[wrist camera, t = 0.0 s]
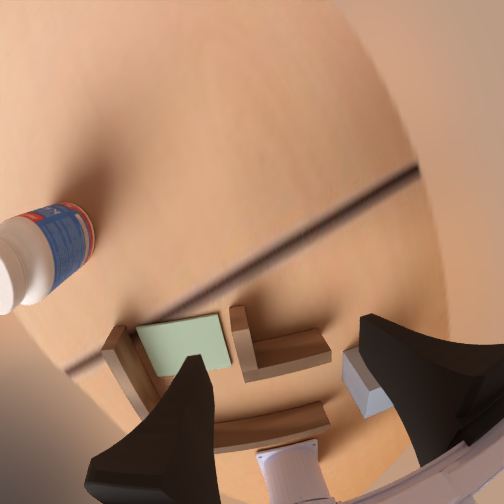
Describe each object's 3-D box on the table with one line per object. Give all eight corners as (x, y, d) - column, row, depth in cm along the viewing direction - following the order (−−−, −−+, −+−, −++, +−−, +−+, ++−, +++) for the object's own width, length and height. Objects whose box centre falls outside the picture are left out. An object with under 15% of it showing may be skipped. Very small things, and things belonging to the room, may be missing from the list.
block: (375, 367, 26) (401, 403, 20) (342, 379, 26) (364, 418, 20) (378, 339, 25) (408, 374, 19) (342, 351, 25) (369, 391, 19)
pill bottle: (83, 190, 18) (-1, 212, 8) (106, 256, 19) (41, 318, 10) (35, 215, 17) (-46, 248, 8) (57, 274, 19) (-10, 333, 10)
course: (320, 407, 27) (330, 429, 23) (170, 433, 26) (168, 456, 22) (314, 289, 22) (330, 309, 19) (113, 327, 21) (100, 350, 18)
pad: (231, 364, 23) (231, 366, 23) (158, 375, 23) (157, 377, 23) (217, 313, 22) (217, 315, 21) (136, 326, 21) (135, 328, 21)
